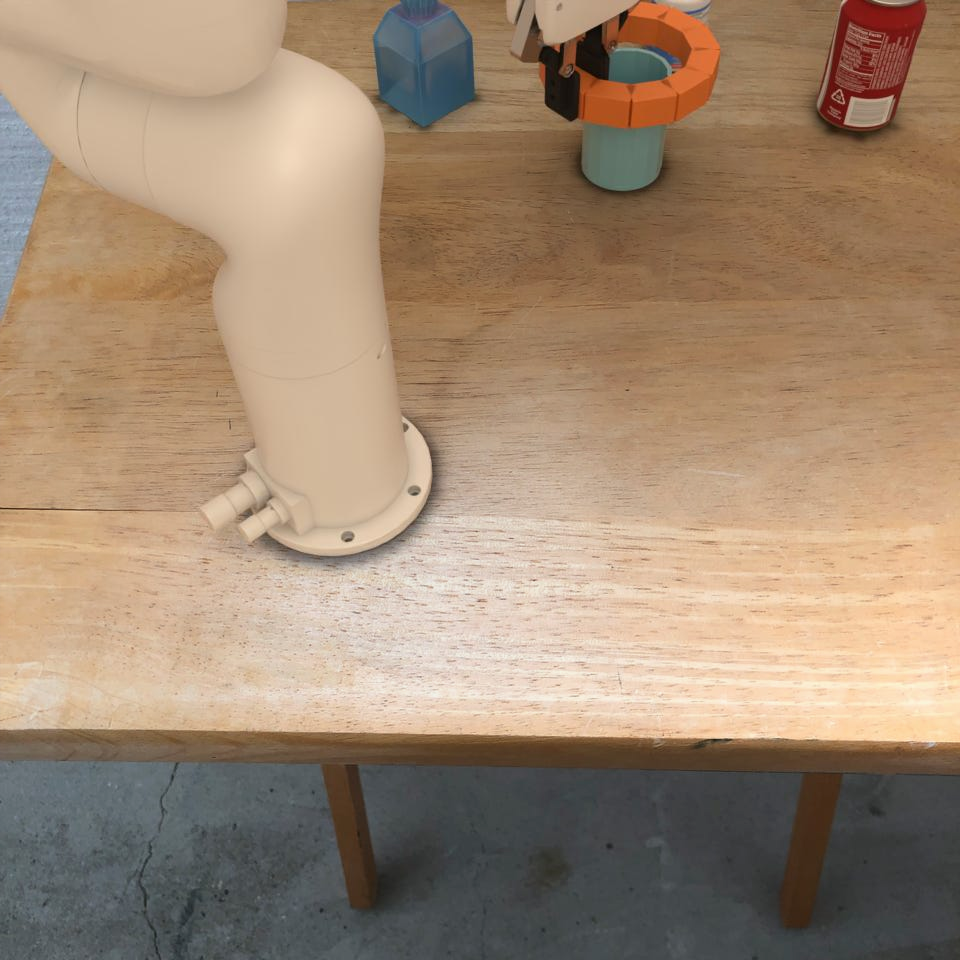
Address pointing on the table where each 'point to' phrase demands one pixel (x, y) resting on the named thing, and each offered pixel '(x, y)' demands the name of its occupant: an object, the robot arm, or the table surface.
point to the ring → (656, 97)
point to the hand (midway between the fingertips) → (575, 103)
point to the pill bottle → (693, 4)
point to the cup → (626, 131)
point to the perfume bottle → (424, 60)
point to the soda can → (869, 62)
